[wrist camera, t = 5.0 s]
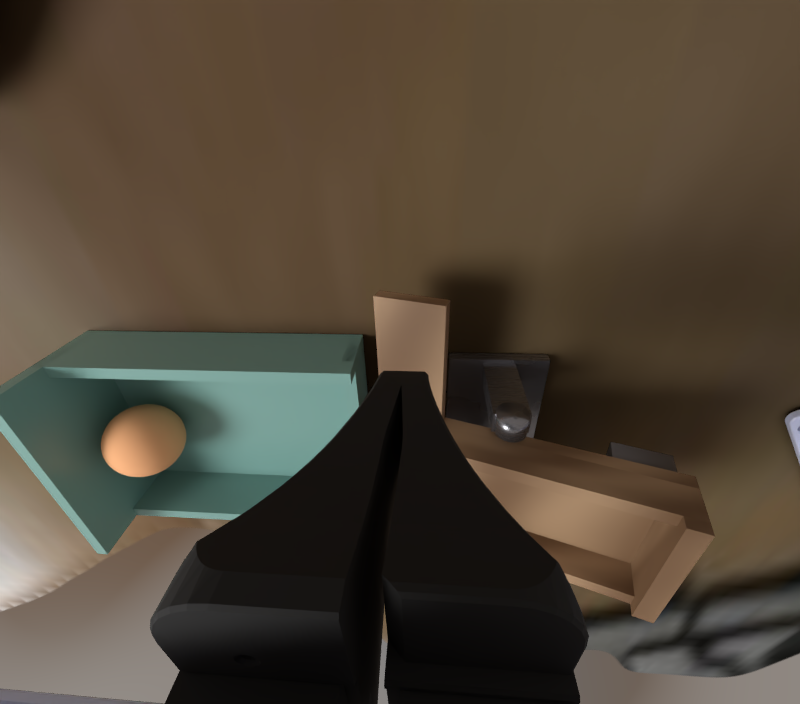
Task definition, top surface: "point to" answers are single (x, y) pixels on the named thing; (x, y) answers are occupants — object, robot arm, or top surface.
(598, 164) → the top surface
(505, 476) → the chute
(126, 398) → the tray
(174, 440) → the ball
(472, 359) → the launcher stand
